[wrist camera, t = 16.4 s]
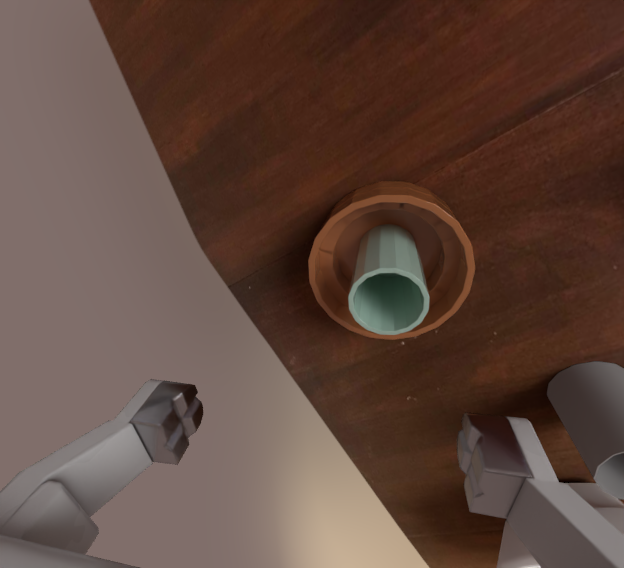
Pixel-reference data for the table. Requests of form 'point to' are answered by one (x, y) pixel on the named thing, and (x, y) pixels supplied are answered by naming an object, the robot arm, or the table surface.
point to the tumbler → (388, 282)
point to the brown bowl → (423, 227)
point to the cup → (594, 418)
